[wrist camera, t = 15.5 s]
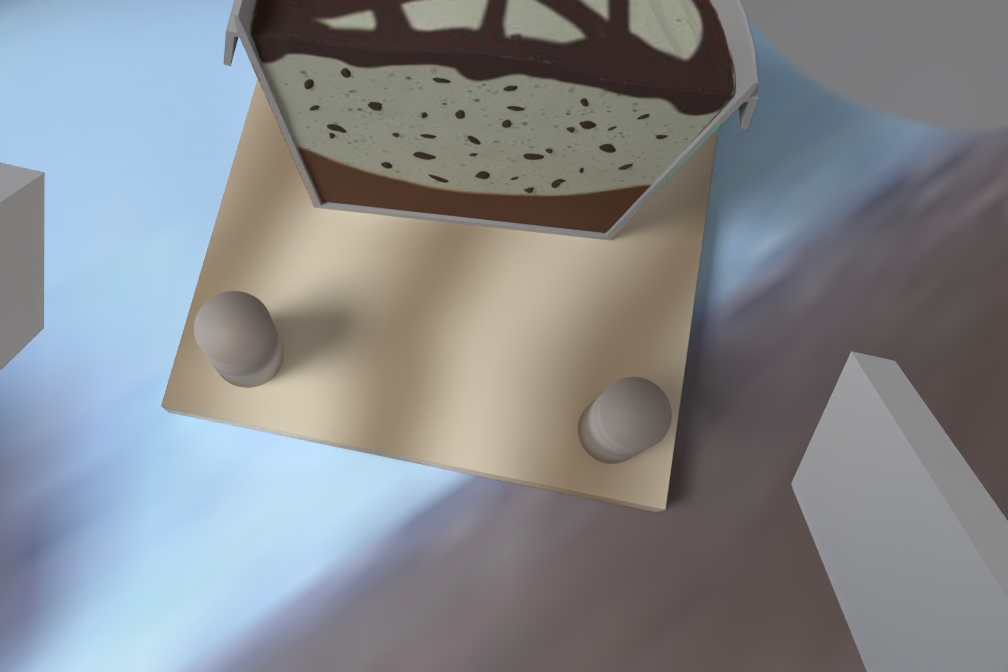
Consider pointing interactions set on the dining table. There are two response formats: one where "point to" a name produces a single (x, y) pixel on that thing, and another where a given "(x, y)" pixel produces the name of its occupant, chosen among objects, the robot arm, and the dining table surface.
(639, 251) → the pin plate
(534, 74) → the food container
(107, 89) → the dining table surface
